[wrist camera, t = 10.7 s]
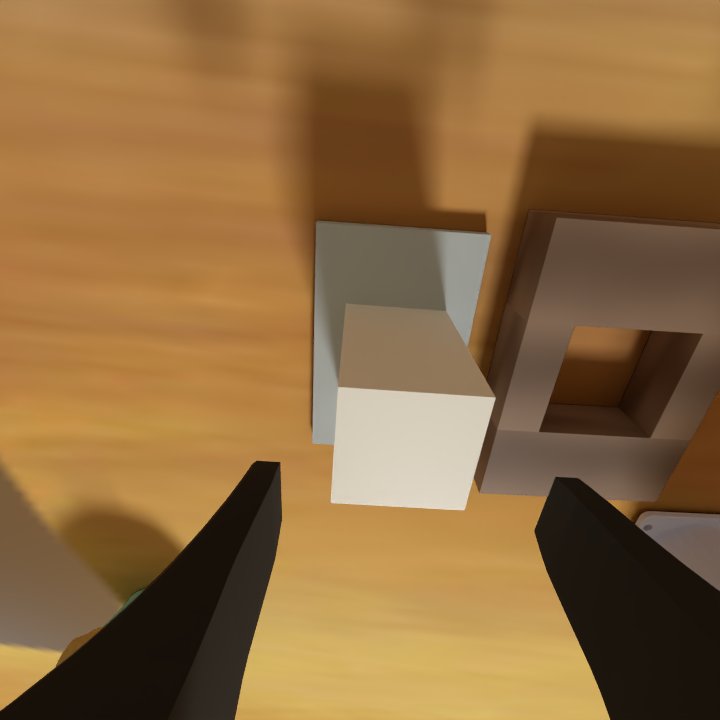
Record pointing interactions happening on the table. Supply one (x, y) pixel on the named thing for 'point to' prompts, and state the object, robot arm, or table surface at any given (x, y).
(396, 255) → the grey mat
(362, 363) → the cream block
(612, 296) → the pocket board
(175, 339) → the table surface
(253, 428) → the table surface
